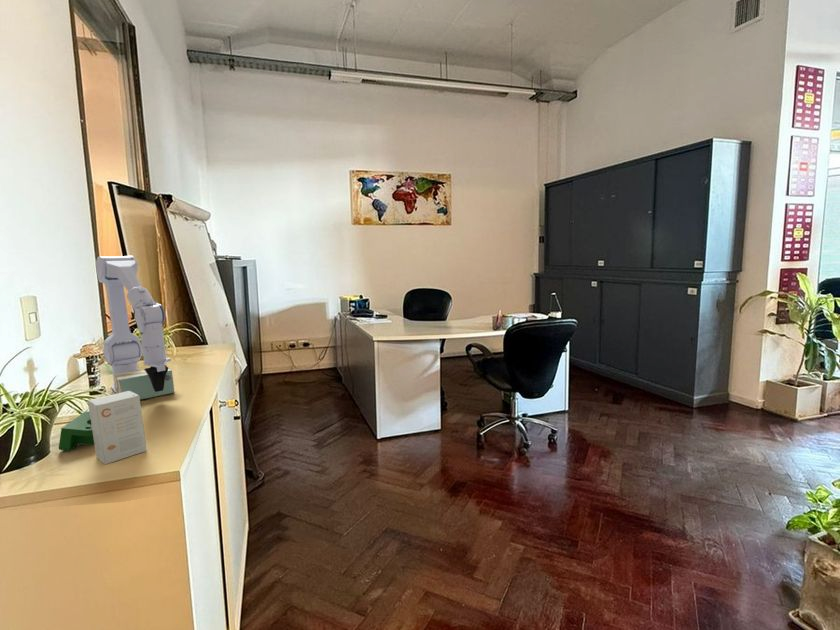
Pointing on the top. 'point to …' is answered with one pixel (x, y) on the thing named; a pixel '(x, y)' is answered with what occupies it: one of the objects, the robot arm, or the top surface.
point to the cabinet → (126, 375)
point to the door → (146, 385)
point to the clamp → (77, 432)
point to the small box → (117, 426)
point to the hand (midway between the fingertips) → (158, 390)
